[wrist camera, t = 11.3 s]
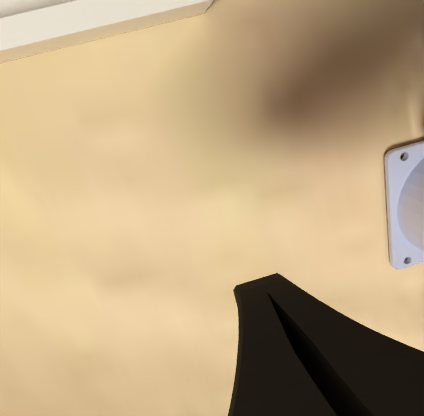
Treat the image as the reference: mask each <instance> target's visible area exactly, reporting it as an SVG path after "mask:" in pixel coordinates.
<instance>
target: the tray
mask: <svg viewBox="0 0 424 416" xmlns="http://www.w3.org/2000/svg"><path fill="white" fill-rule="evenodd" d="M212 2H213V0H0V63H3V62H7V61H12V60H16V59H20V58H24V57H28V56H32V55H36V54H40V53H45V52H49V51H53V50H57V49H61V48H65V47H69V46H73V45H77V44H82V43H86V42H90V41H94V40H98V39H102V38H106V37H110V36H114V35H119V34H123V33H127V32H131V31H135V30H139V29H143V28H147V27H151V26H156V25H160V24H164V23H168V22H172V21H176V20H180V19H184V18H188V17H193V16H197V15H201V14H204V12H205V11H206V10H207V8H208V7H209V6H210V4H211V3H212Z"/></svg>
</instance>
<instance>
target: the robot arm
mask: <svg viewBox="0 0 424 416" xmlns="http://www.w3.org/2000/svg"><path fill="white" fill-rule="evenodd" d="M402 153H404V157H403V158H402V159H400V156H401V154H402ZM384 161H385V180H386V199H387V218H388V236H389V255H390V264H391V266H392V267H394V268H395V269H402V268H405V267H408V266H412V265H415V264H418V263H422V262H424V141H420V142H417V143H413V144H409V145H406V146H402V147H399V148H395V149H392V150H390V151H388V152H387V153H386V155H385V159H384ZM405 258H407V259H406V260H405ZM404 260H405V261H404ZM233 291H234V295H235V299H236V303H237V307H238V316H239V340H238V353H237V365H236V373H235V381H234V387H233V393H232V399H231V404H230V409H229V413H228V416H424V352H423V351H420V350H418V349H415V348H413V347H410V346H408V345H406V344H403V343H401V342H399V341H396V340H394V339H392V338H389V337H387V336H385V335H382V334H380V333H378V332H376V331H374V330H372V329H370V328H368V327H366V326H364V325H362V324H360V323H358V322H356V321H354V320H352V319H350V318H349V317H347V316H345V315H343V314H341V313H340V312H338V311H336V310H334V309H333V308H331V307H329V306H328V305H326V304H324V303H323V302H321V301H319V300H318V299H316V298H315V297H313V296H311V295H310V294H308V293H307V292H305V291H304V290H302V289H301V288H299V287H298V286H296V285H295V284H293V283H292V282H290V281H289V280H287V279H286V278H285V277H283V276H282V275H280V274H278V273H276V274H273V275H269V276H266V277H263V278H259V279H256V280H253V281H250V282H246V283H243V284H240V285H237V286H236V287H235V288H234V290H233Z"/></svg>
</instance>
